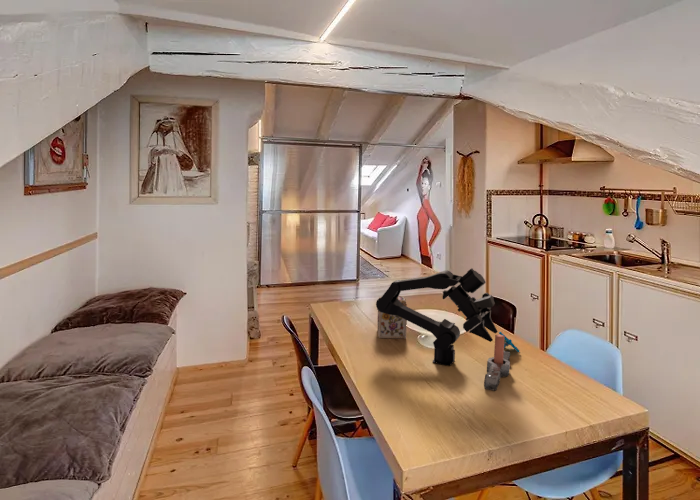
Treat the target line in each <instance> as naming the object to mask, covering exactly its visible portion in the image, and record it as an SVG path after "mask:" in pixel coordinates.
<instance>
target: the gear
mask: <svg viewBox="0 0 700 500" xmlns="http://www.w3.org/2000/svg"><path fill="white" fill-rule="evenodd" d="M498 335H503V336H505V339H504V349H505V348H506V347H508V346H510V347H512V349H514V350H515V351H516V352H517V353H519V352H520V350H519V348H518V347H517V346H516V345H515V344H514V343H513V340H511V338H510V339H509V338H508V337H507V336H506V335H505V334H504V333H503V332H502V331H499V332H498Z"/></svg>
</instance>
